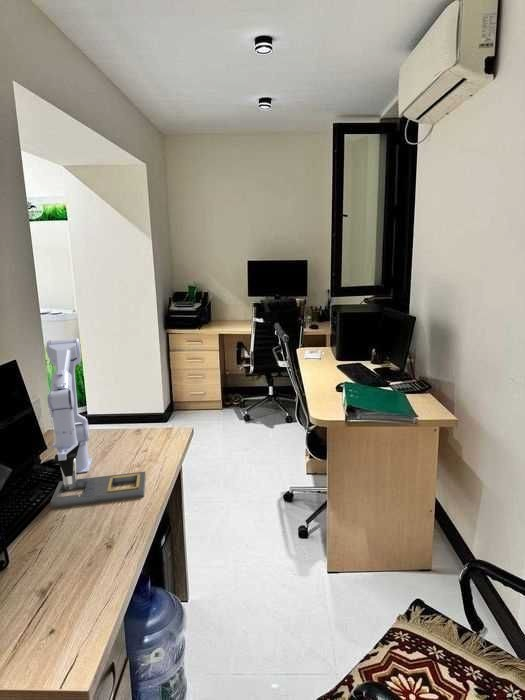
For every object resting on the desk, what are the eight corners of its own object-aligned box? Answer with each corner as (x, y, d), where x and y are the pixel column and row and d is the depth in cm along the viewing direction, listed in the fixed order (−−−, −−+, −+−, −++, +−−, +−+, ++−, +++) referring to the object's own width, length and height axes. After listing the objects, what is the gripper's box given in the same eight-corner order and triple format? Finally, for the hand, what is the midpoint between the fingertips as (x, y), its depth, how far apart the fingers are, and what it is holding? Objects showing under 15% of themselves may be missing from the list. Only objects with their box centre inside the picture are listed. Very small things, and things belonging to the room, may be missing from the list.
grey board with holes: (60, 487, 144) (59, 480, 144) (145, 477, 149) (145, 470, 149) (51, 508, 133) (50, 500, 132) (144, 496, 138) (143, 489, 137)
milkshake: (75, 491, 136) (72, 459, 134) (59, 489, 137) (55, 458, 135) (84, 483, 140) (81, 452, 138) (68, 482, 141) (64, 451, 139)
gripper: (55, 421, 141) (61, 462, 144) (43, 441, 127) (50, 485, 130) (80, 419, 142) (85, 459, 145) (71, 438, 128) (76, 482, 131)
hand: (70, 471), depth 138 cm, fingers closed on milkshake, 4 cm apart
